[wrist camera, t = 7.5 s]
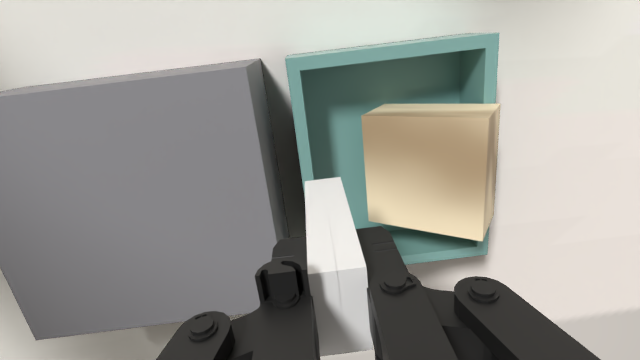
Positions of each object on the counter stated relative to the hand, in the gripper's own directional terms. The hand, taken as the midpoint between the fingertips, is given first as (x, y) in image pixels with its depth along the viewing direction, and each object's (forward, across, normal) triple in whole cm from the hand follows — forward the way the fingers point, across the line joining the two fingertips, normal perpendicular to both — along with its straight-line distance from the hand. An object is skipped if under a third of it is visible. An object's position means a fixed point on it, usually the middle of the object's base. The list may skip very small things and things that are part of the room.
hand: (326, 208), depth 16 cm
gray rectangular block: (+7, -9, 0) cm, 12 cm away
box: (+7, +4, 0) cm, 8 cm away
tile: (+3, +5, 0) cm, 6 cm away
